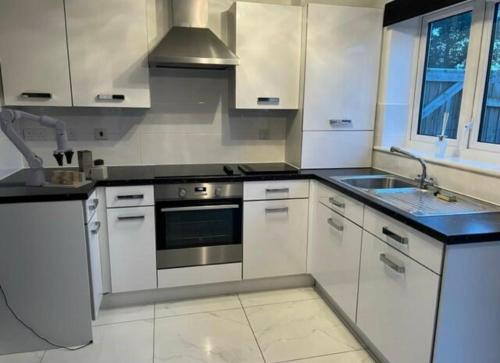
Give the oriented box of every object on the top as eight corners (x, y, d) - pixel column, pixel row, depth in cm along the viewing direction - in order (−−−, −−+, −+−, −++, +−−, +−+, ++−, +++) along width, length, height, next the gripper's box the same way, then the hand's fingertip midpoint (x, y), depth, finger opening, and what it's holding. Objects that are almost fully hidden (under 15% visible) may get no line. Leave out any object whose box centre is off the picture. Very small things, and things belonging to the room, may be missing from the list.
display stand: (42, 186, 204) (41, 176, 202) (60, 181, 218) (59, 171, 217) (75, 187, 200) (74, 177, 199) (91, 182, 215) (90, 172, 214)
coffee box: (78, 175, 236) (76, 150, 233) (89, 174, 241) (86, 149, 237) (84, 177, 230) (81, 151, 226) (94, 176, 234) (92, 151, 231)
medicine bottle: (107, 177, 229) (106, 158, 226) (103, 179, 222) (102, 160, 219) (96, 177, 228) (94, 158, 226) (91, 180, 222) (89, 160, 219)
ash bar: (51, 180, 206) (50, 171, 205) (56, 179, 210) (55, 170, 209) (74, 181, 204) (73, 172, 203) (78, 179, 207) (77, 171, 206)
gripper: (60, 142, 203) (63, 167, 206) (76, 140, 217) (79, 163, 220) (48, 142, 204) (51, 166, 207) (65, 140, 218) (68, 162, 221)
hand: (65, 164), depth 214 cm, fingers open, 7 cm apart
